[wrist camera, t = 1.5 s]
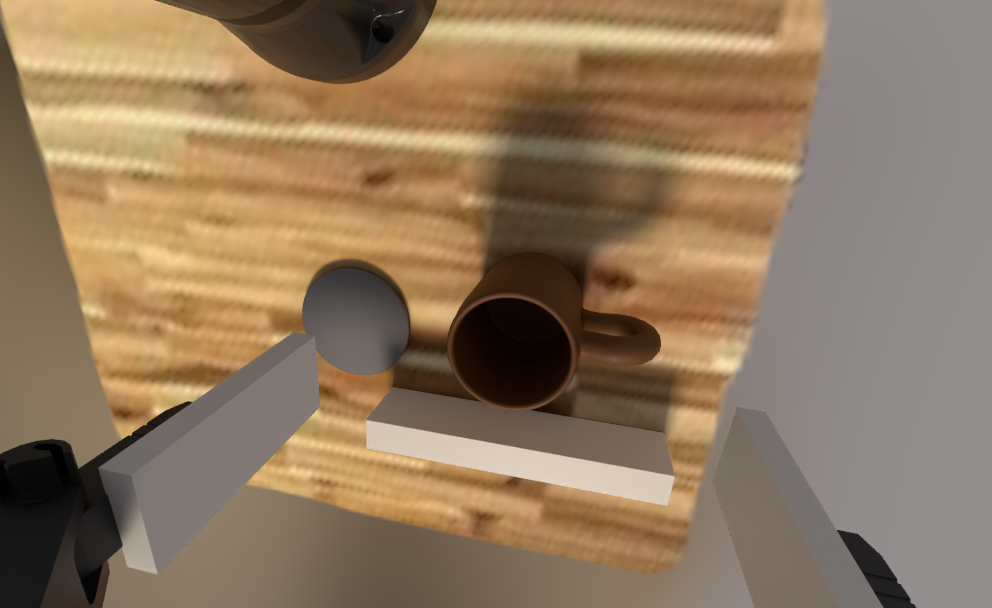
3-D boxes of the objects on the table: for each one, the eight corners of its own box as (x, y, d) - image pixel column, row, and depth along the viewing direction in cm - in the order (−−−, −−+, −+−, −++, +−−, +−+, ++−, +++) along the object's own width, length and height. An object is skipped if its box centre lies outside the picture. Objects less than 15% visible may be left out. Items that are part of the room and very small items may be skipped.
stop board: (392, 386, 39) (366, 420, 34) (664, 432, 36) (674, 476, 31) (393, 412, 40) (366, 448, 35) (657, 459, 36) (667, 505, 32)
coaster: (302, 261, 37) (298, 263, 36) (410, 275, 35) (407, 277, 35) (310, 362, 40) (306, 366, 39) (409, 379, 38) (407, 382, 38)
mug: (650, 249, 31) (673, 290, 23) (644, 351, 34) (662, 424, 25) (477, 249, 34) (438, 287, 25) (483, 345, 36) (448, 410, 27)
